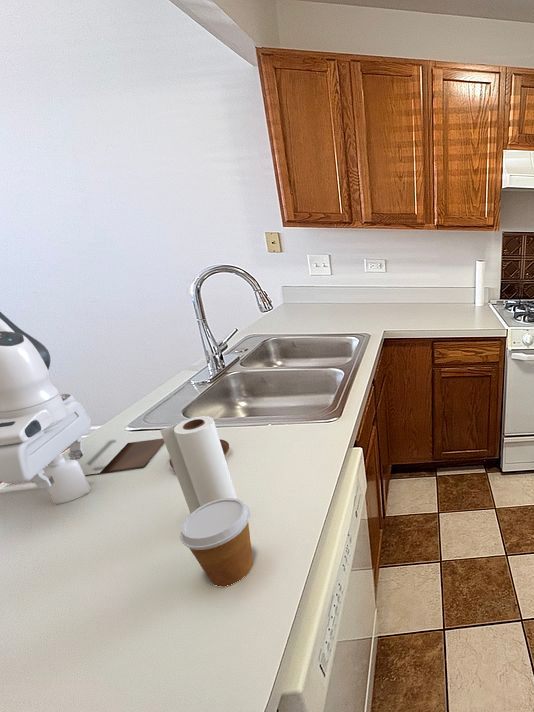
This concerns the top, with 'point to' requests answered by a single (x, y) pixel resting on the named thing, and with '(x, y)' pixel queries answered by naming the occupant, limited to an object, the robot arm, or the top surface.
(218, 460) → the paper towel roll
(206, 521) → the disposable coffee cup
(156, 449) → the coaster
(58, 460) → the eye dropper bottle
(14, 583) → the top surface
